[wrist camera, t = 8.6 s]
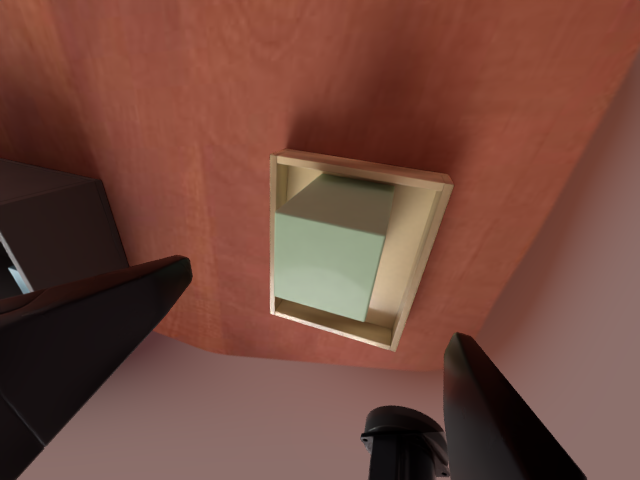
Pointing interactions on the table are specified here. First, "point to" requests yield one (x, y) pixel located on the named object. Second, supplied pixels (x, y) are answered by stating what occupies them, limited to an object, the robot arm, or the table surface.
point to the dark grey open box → (53, 228)
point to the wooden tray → (399, 248)
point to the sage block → (332, 244)
